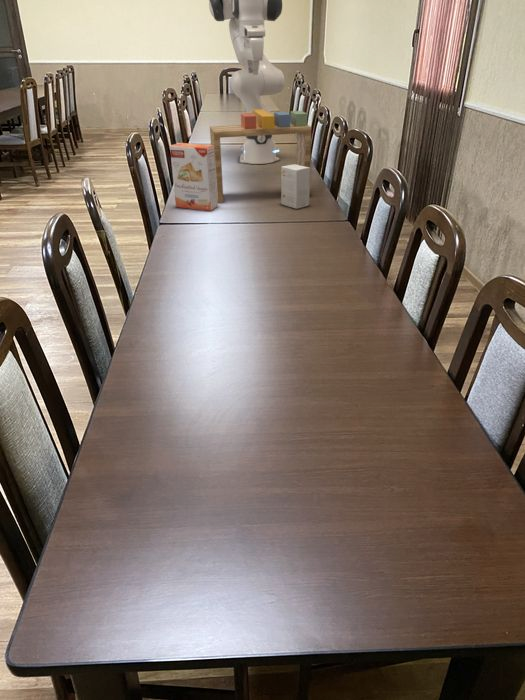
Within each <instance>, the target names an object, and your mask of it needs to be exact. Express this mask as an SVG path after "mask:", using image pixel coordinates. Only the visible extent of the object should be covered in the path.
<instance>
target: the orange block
mask: <svg viewBox="0 0 525 700" xmlns="http://www.w3.org/2000/svg"><path fill="white" fill-rule="evenodd" d="M252 114H254V115H255V116H256V124H257V125H258V126H260V127H261V128H262V129H274V114H272V113H271V114H270V113H269V112H267V111H265V110H264V109H253V110H252Z"/></svg>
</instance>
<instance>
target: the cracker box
mask: <svg viewBox="0 0 525 700" xmlns="http://www.w3.org/2000/svg"><path fill="white" fill-rule="evenodd" d="M169 150H170V151H169V152H170V164H171V171H172V180H173V181H172V182H173V191H174V192H173V193H174V201H175V203H174V204H175V208H181V209H190V210H196V211H197V210H198V211H206V212H212V211H213V210H214V209H216V208H218V207H219V203H218V200H217V182H216V166H215V150H214V145H211V144H200V143H189V142H188V143H186V142H177V143H173V144H171V145H169Z"/></svg>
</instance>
